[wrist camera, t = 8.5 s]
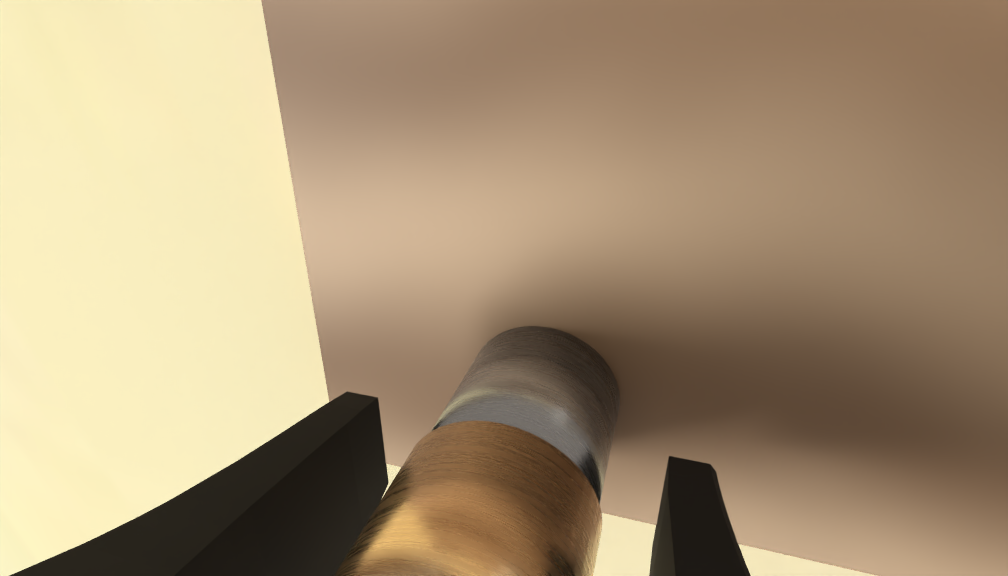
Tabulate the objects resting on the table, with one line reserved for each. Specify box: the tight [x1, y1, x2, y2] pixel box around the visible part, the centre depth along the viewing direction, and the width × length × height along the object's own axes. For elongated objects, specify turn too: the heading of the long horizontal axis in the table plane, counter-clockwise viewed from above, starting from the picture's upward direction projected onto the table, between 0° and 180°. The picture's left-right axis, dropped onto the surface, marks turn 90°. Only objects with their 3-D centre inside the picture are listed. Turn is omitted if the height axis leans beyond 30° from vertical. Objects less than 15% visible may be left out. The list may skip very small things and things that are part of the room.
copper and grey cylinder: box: [334, 326, 620, 576], centre depth 9 cm, size 3×3×7 cm
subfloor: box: [262, 0, 1008, 576], centre depth 8 cm, size 18×22×1 cm
